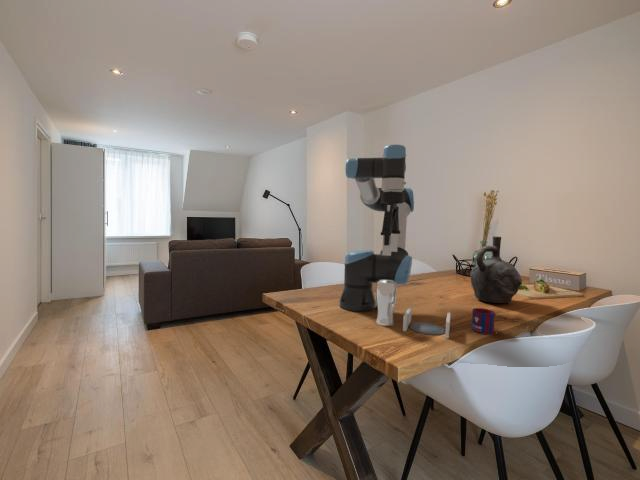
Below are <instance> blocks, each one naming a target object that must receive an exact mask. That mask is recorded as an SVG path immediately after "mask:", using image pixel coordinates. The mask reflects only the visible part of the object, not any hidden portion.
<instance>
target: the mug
mask: <svg viewBox="0 0 640 480" xmlns="http://www.w3.org/2000/svg"><path fill="white" fill-rule="evenodd" d="M471 312H472V313H471V331H473V332H475V333H477V332H478V333H477V334H481V333H483V334H482V335H492V334H493V333H494V331H495V319H496V316H495V315H496V312H495V311H494V310H492V309H487V308H482V307H481V308H480V307H476V308H472V311H471Z"/></svg>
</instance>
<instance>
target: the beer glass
mask: <svg viewBox="0 0 640 480" xmlns="http://www.w3.org/2000/svg"><path fill="white" fill-rule="evenodd" d="M375 300H376V308H377V317H376V324H377V325H378V326H382V327H392V326H394V324H395V322H394V309H395V306H396V300H397V285H396V281H393V280H386V279H381V280H377V283H376V289H375Z"/></svg>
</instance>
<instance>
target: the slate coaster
mask: <svg viewBox="0 0 640 480" xmlns="http://www.w3.org/2000/svg"><path fill="white" fill-rule="evenodd" d="M409 328H410V329H411V330H412V331H413V332H415V333H418V334H423V335H429V336H437V335H442V334H445V328H444V327H443V326H442V325H439V324H436V323H433V322H432V323H431V322H426V321H421V322H420V321H416V322H412V323H410V324H409Z"/></svg>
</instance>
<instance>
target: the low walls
mask: <svg viewBox="0 0 640 480" xmlns="http://www.w3.org/2000/svg"><path fill="white" fill-rule="evenodd" d="M412 308H413V307H411V306H408V309H406V312H405V313H404V314H403V317H402V318H403V321H402V331H403V332H407V330H408V328H409V327H410V324H411V322H412V315H413V312H412V311H413V309H412ZM451 314H452V312H448V311H447V314H446V320H445V330H444V335H445V336H444V338H445V339H449V337H450V331H451V329H450V327H451V316H452V315H451Z"/></svg>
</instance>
